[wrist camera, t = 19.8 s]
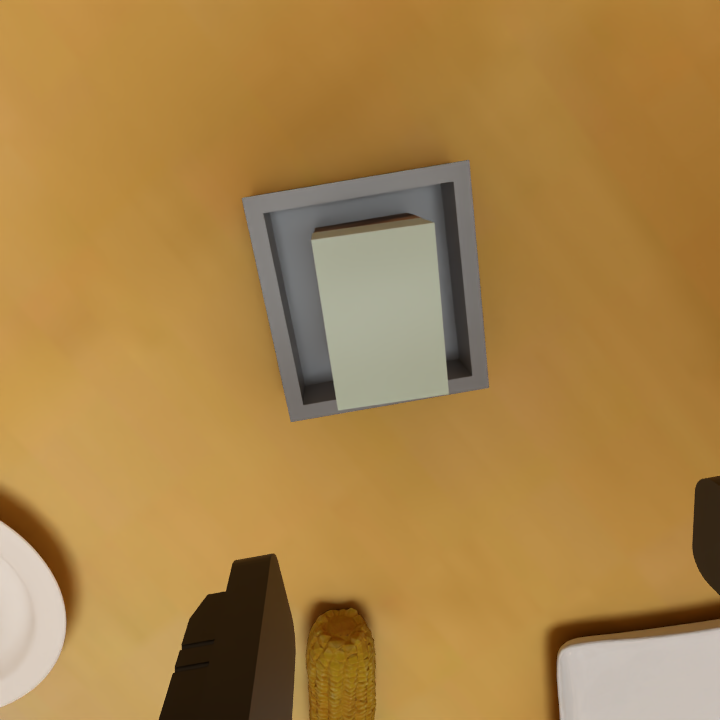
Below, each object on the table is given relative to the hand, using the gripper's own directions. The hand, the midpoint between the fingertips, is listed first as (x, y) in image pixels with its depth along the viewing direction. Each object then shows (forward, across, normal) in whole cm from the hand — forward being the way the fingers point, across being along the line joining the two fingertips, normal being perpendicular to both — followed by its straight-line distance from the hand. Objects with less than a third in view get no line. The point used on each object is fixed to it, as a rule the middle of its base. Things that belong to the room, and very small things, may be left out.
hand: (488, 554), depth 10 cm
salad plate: (+29, -21, +43) cm, 56 cm away
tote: (+28, 0, 0) cm, 28 cm away
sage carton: (+22, 0, 0) cm, 22 cm away
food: (+28, +8, +36) cm, 46 cm away
